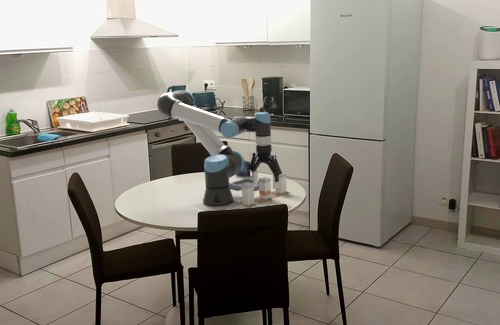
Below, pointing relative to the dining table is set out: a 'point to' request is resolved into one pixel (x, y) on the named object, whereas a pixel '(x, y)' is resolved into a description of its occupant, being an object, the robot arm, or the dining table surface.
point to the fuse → (248, 193)
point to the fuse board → (259, 200)
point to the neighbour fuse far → (281, 184)
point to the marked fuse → (265, 188)
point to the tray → (238, 184)
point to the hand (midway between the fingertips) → (265, 186)
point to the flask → (245, 169)
